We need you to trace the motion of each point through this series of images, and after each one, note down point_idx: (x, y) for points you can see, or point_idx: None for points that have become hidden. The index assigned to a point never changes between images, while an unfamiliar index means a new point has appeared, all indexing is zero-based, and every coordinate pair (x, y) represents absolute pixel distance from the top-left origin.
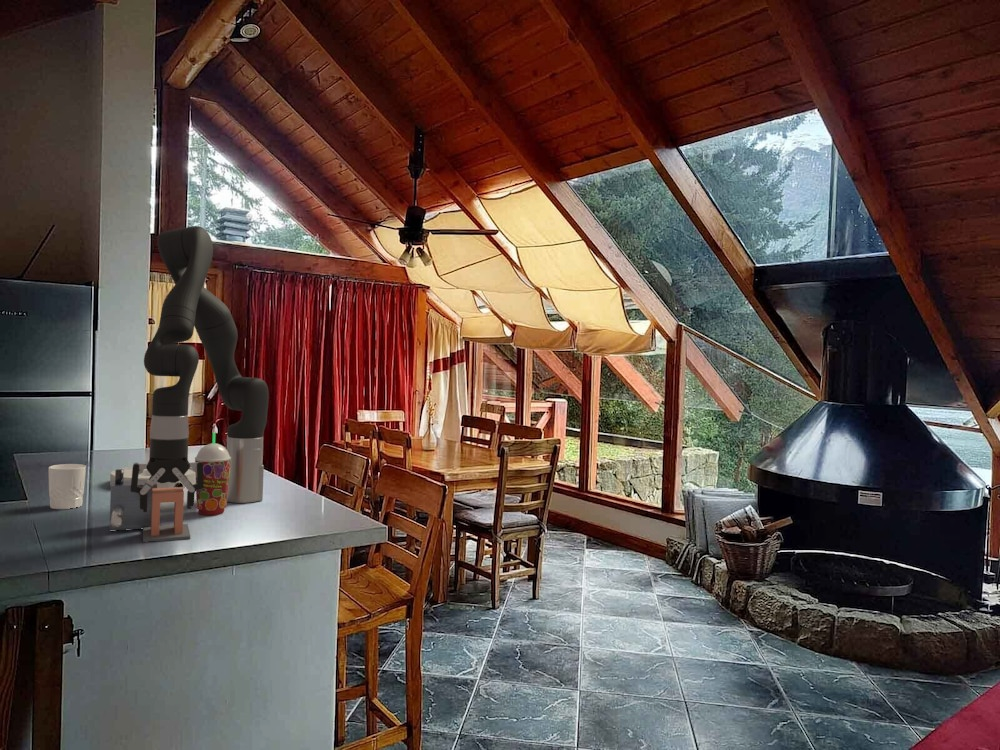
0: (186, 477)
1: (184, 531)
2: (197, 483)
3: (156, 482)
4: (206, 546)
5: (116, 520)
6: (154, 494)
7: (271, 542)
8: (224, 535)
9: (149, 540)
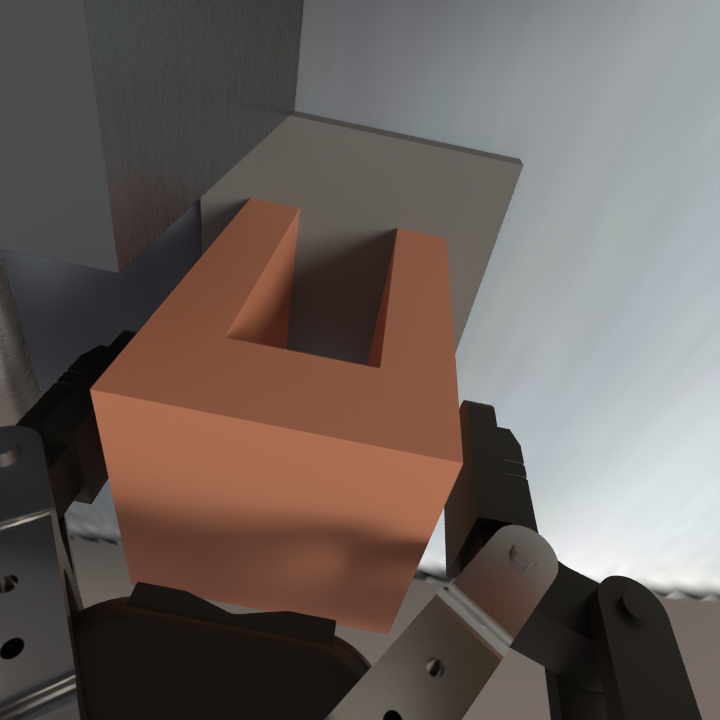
0: (479, 689)
1: None
2: (580, 654)
3: (81, 64)
4: (443, 535)
5: None
6: (149, 580)
7: (681, 594)
8: (595, 447)
9: None
